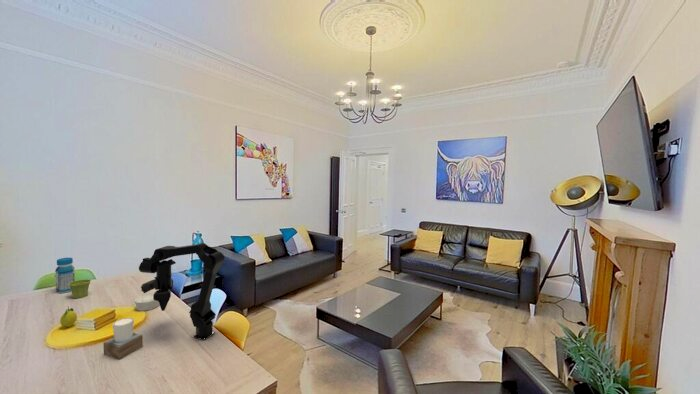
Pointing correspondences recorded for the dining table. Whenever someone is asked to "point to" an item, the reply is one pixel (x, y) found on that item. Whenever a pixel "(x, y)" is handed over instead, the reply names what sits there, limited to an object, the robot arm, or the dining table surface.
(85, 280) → the plant pot
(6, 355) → the dining table surface
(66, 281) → the beverage bottle
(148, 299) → the ramekin
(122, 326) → the shot glass
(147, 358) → the dining table surface
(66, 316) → the green pear
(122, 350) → the walnut plinth
